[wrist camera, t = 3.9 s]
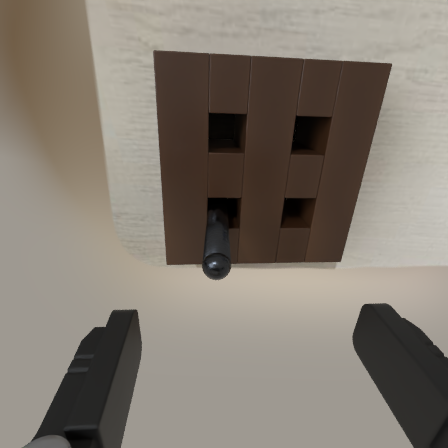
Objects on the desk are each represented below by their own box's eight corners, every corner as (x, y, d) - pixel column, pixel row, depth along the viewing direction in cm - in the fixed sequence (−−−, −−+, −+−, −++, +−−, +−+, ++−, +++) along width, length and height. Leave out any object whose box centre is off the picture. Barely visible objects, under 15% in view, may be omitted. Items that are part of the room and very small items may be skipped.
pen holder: (173, 229, 26) (166, 265, 20) (165, 62, 20) (153, 50, 14) (312, 228, 27) (340, 262, 21) (342, 71, 21) (392, 63, 16)
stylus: (210, 194, 24) (201, 285, 13) (210, 179, 24) (200, 260, 12) (225, 195, 25) (231, 286, 13) (226, 180, 24) (232, 261, 12)
